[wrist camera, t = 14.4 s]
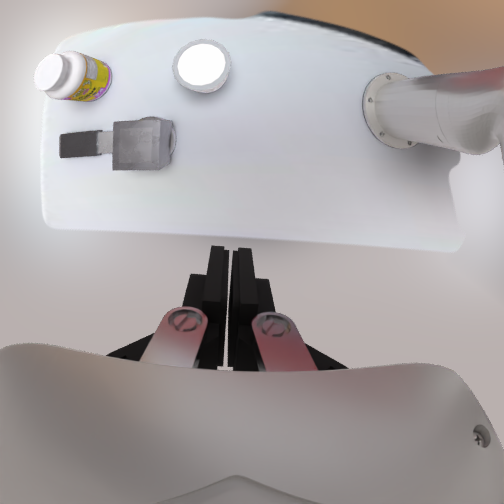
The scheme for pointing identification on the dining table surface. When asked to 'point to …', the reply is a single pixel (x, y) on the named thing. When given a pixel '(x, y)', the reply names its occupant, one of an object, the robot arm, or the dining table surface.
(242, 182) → the dining table surface
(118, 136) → the grey cube
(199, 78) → the white cup
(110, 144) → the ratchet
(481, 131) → the robot arm
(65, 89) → the supplement bottle
